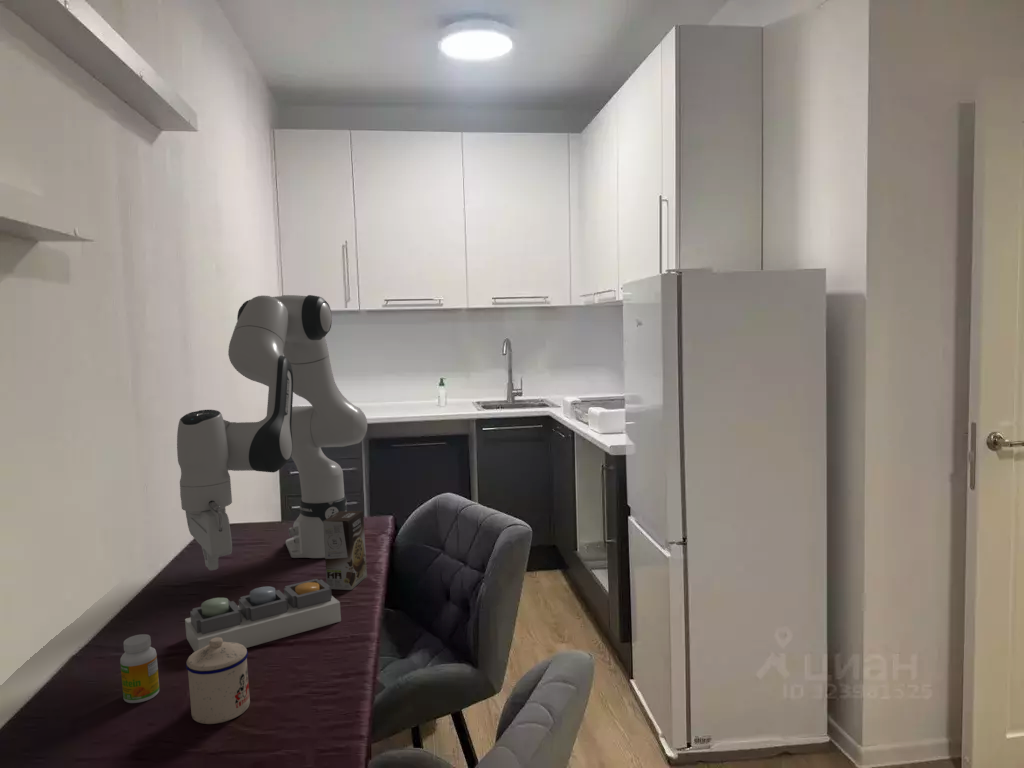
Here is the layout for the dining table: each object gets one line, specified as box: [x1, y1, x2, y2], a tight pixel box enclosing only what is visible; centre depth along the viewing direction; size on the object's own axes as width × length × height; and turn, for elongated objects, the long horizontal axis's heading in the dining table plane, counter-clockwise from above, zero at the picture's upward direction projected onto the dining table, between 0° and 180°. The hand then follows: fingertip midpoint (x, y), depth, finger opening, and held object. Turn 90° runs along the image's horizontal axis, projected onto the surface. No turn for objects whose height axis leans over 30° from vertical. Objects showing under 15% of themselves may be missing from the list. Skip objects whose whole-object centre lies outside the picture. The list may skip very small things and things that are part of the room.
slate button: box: [249, 586, 276, 605], centre depth 144 cm, size 5×5×2 cm
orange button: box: [295, 582, 320, 595], centre depth 149 cm, size 5×5×2 cm
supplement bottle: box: [119, 633, 160, 704], centre depth 120 cm, size 5×5×10 cm
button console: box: [184, 578, 342, 653], centre depth 144 cm, size 12×27×6 cm, turn 125°
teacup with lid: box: [185, 637, 251, 725], centre depth 116 cm, size 12×9×12 cm
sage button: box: [200, 597, 229, 618], centre depth 139 cm, size 5×5×2 cm
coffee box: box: [323, 510, 368, 591], centre depth 168 cm, size 9×6×16 cm
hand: (212, 568), depth 138 cm, fingers closed
